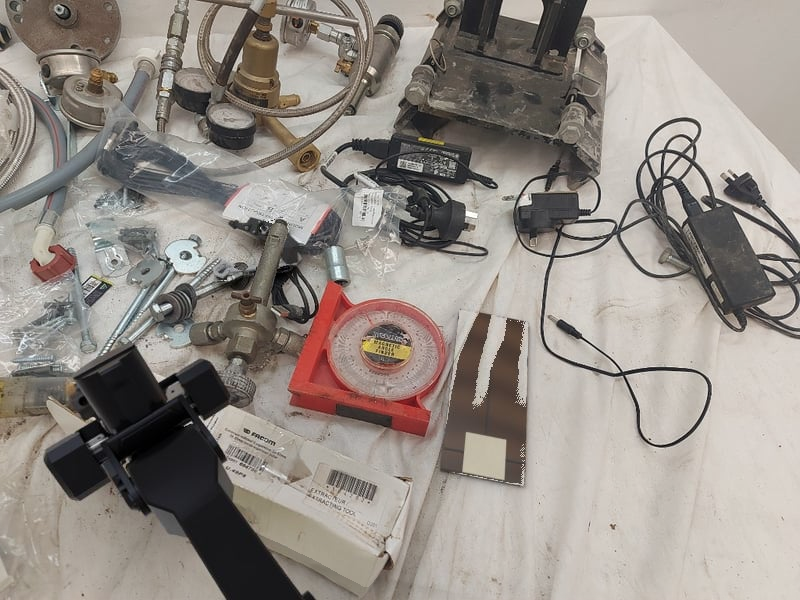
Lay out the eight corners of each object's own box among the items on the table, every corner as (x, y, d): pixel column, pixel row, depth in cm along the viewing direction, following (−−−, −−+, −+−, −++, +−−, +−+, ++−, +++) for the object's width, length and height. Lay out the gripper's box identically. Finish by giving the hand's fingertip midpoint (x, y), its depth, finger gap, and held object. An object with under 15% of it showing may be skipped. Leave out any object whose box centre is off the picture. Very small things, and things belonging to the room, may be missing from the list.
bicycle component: (214, 287, 93) (306, 273, 97) (208, 247, 89) (303, 235, 94) (209, 253, 102) (293, 243, 107) (203, 216, 99) (290, 206, 103)
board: (522, 487, 82) (525, 483, 81) (439, 470, 82) (441, 467, 81) (527, 325, 98) (529, 321, 97) (458, 312, 98) (459, 307, 97)
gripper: (201, 324, 59) (169, 314, 72) (8, 432, 51) (13, 398, 64) (251, 413, 62) (213, 388, 76) (79, 528, 54) (69, 477, 67)
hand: (132, 410), depth 70 cm, fingers closed on two-way radio, 5 cm apart
